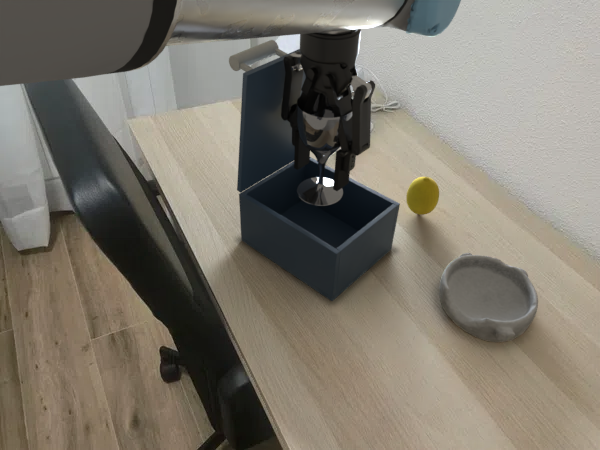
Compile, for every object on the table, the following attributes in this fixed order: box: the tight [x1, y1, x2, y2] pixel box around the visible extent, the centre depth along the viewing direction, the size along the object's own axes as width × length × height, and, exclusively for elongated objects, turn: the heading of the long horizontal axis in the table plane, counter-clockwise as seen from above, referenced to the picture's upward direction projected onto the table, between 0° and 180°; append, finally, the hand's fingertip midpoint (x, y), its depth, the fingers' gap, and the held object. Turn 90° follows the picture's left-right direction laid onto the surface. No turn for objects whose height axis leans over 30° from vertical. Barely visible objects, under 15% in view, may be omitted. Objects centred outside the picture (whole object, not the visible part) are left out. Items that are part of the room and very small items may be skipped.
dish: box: [438, 252, 539, 343], centre depth 81 cm, size 14×14×5 cm
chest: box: [238, 156, 401, 302], centre depth 89 cm, size 20×16×10 cm
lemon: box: [405, 176, 440, 216], centre depth 96 cm, size 6×6×8 cm
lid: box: [228, 39, 306, 194], centre depth 84 cm, size 20×16×8 cm
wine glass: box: [297, 93, 353, 206], centre depth 80 cm, size 8×8×15 cm
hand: (320, 175), depth 82 cm, fingers closed on wine glass, 7 cm apart
